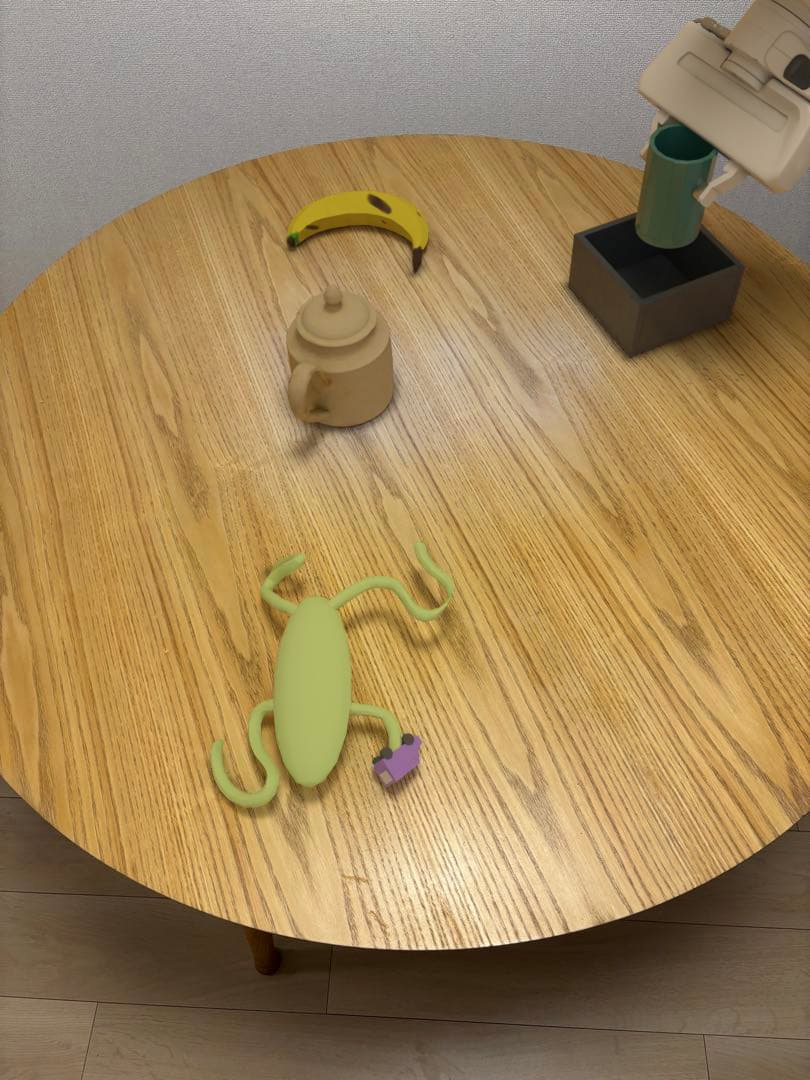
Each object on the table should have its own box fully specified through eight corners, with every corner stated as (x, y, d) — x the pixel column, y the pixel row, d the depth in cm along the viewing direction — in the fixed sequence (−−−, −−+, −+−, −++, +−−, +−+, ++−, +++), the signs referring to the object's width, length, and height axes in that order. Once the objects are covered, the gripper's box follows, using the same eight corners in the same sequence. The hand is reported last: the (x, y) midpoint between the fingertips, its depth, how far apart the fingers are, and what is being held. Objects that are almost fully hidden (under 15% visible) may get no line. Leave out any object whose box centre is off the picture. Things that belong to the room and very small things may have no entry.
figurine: (463, 572, 97) (463, 539, 92) (413, 841, 82) (411, 817, 77) (279, 547, 99) (271, 514, 95) (198, 803, 84) (184, 778, 80)
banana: (274, 197, 125) (301, 287, 119) (407, 163, 126) (441, 250, 120) (280, 223, 129) (307, 312, 123) (409, 190, 130) (442, 275, 124)
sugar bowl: (401, 450, 106) (394, 347, 94) (297, 460, 106) (276, 357, 94) (390, 351, 115) (383, 244, 102) (295, 360, 114) (275, 254, 102)
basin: (664, 251, 123) (675, 198, 116) (730, 318, 115) (746, 266, 109) (567, 286, 120) (574, 233, 113) (629, 357, 112) (639, 306, 106)
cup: (687, 204, 107) (706, 118, 98) (707, 243, 103) (729, 158, 95) (626, 213, 106) (641, 127, 98) (645, 252, 103) (661, 167, 94)
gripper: (684, -7, 97) (592, 119, 102) (840, 90, 87) (728, 224, 92) (710, 24, 102) (621, 143, 107) (860, 120, 91) (753, 246, 97)
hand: (672, 181), depth 100 cm, fingers closed on cup, 6 cm apart
